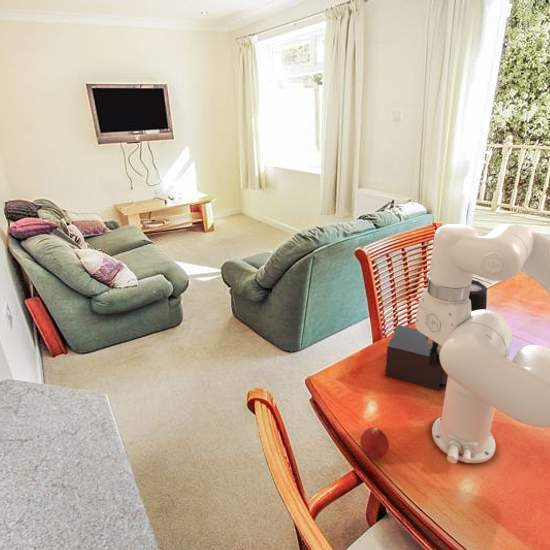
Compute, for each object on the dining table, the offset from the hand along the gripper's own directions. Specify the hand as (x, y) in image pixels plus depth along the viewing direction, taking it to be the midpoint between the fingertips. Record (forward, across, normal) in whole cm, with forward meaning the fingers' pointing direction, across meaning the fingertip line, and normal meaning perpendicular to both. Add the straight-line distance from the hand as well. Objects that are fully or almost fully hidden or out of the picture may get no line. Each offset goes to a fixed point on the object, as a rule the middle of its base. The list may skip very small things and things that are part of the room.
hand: (436, 364), depth 80 cm
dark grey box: (+17, -16, +12) cm, 26 cm away
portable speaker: (+18, -19, +34) cm, 43 cm away
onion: (+18, +1, -17) cm, 24 cm away
